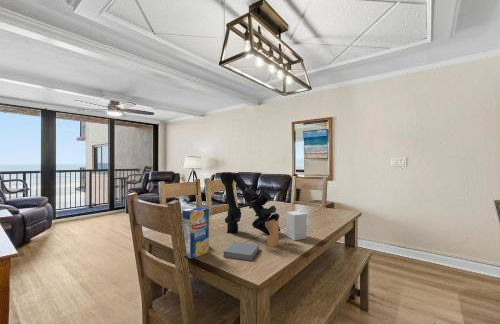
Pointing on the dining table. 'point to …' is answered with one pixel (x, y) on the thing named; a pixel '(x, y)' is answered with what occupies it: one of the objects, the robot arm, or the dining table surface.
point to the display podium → (241, 250)
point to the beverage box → (196, 231)
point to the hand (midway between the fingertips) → (274, 233)
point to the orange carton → (273, 233)
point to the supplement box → (296, 225)
